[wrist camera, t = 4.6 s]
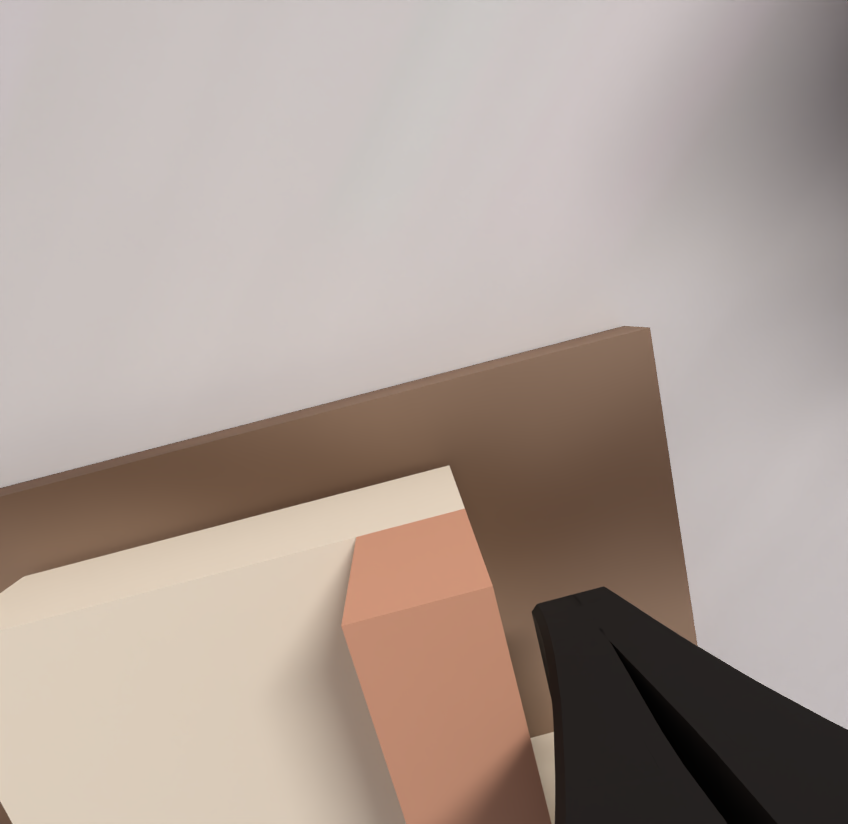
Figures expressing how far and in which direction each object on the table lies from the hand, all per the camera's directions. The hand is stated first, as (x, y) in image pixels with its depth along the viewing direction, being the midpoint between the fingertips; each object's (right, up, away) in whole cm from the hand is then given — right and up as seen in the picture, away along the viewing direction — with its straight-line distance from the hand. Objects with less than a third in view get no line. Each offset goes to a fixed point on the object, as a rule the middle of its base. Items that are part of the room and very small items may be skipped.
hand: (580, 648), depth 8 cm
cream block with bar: (-5, -1, +2) cm, 6 cm away
